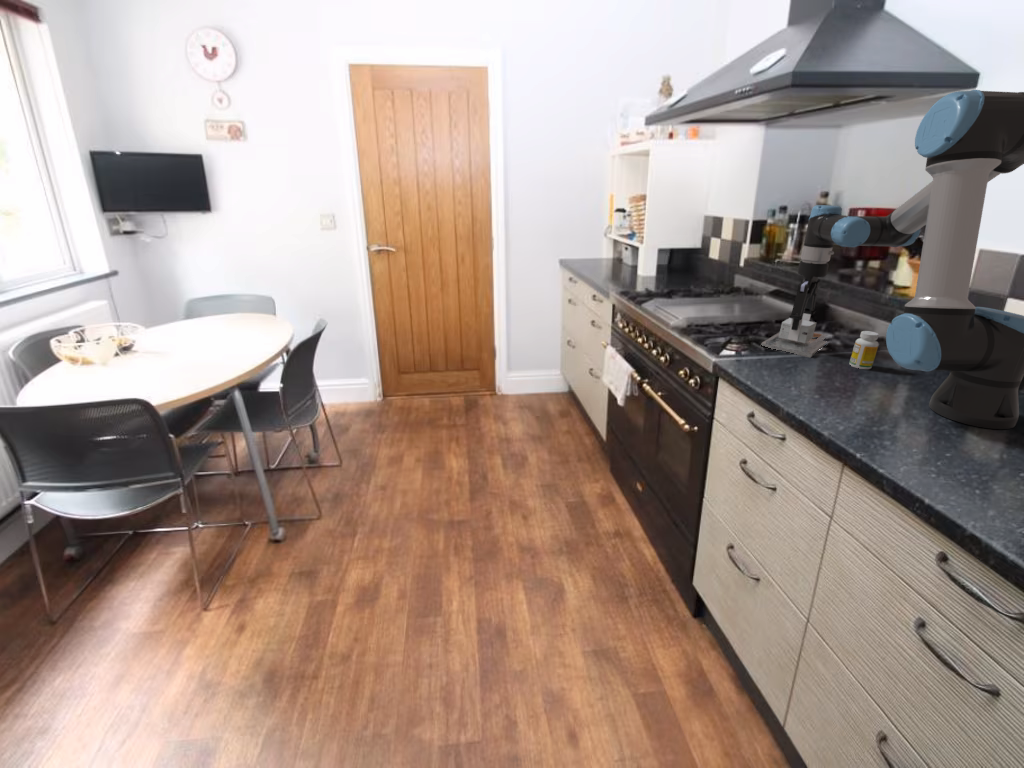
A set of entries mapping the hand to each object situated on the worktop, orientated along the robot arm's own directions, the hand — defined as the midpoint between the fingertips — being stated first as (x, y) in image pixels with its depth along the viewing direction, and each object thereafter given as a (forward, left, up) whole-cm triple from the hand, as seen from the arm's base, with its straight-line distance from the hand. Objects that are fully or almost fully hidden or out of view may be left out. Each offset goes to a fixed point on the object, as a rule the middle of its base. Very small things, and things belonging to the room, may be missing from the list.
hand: (797, 337), depth 164 cm
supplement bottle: (-8, -19, -3) cm, 21 cm away
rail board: (0, 0, -3) cm, 3 cm away
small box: (0, 0, -1) cm, 1 cm away
